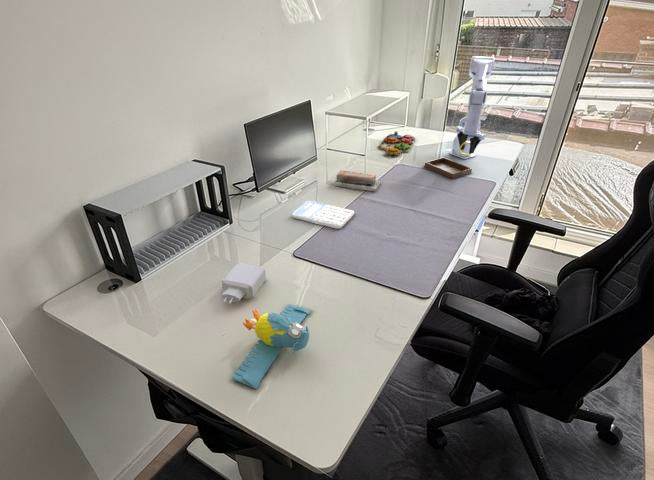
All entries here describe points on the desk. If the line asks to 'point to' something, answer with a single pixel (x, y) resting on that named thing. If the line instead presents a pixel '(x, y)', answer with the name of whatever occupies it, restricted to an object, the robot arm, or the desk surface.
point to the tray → (448, 167)
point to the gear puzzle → (397, 143)
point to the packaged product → (357, 180)
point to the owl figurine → (272, 341)
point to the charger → (242, 282)
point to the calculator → (323, 214)
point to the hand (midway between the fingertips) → (466, 151)
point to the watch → (462, 145)
